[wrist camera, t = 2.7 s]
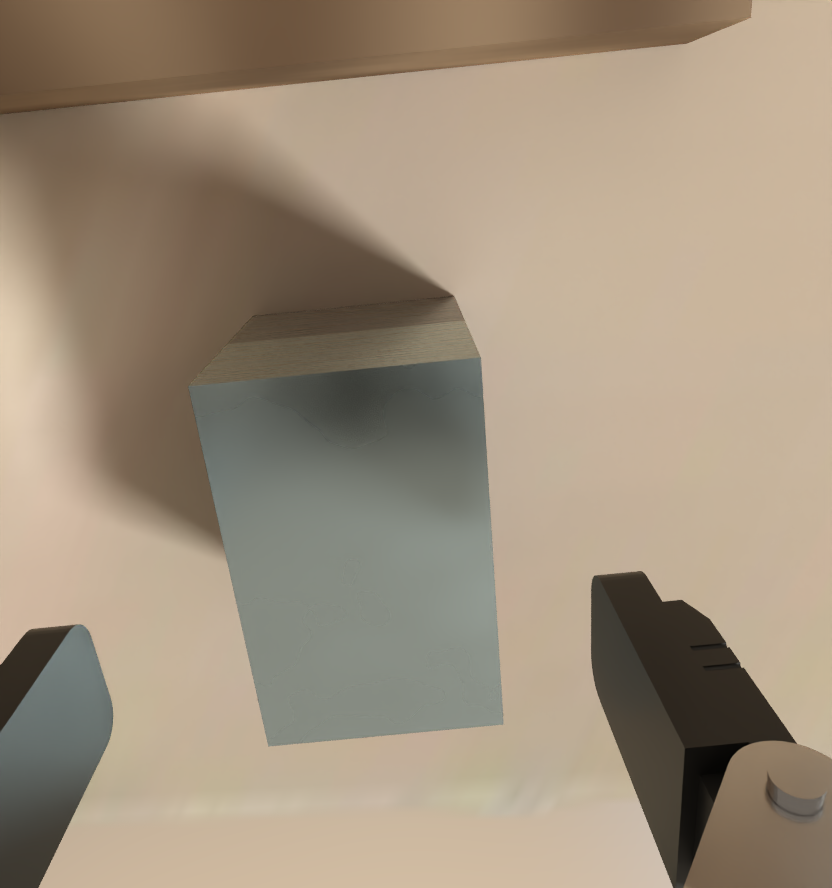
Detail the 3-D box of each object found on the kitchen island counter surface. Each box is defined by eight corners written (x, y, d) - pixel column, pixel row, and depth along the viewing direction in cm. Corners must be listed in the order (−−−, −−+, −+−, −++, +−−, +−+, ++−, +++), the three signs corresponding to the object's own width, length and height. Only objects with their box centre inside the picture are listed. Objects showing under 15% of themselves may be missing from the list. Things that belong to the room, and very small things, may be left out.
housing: (453, 295, 18) (480, 357, 12) (474, 571, 21) (503, 724, 15) (253, 315, 18) (188, 386, 12) (302, 588, 21) (268, 746, 15)
